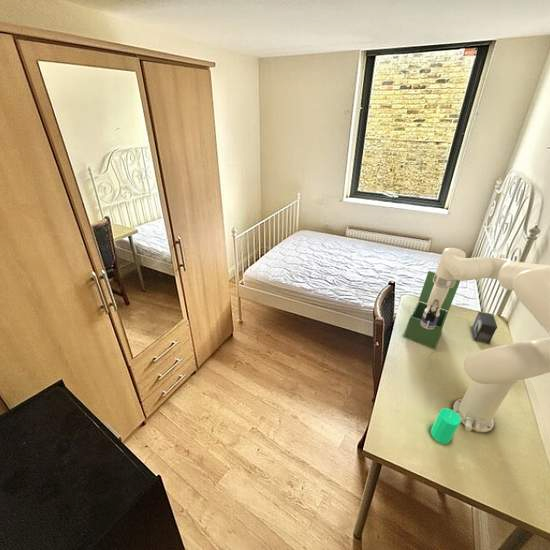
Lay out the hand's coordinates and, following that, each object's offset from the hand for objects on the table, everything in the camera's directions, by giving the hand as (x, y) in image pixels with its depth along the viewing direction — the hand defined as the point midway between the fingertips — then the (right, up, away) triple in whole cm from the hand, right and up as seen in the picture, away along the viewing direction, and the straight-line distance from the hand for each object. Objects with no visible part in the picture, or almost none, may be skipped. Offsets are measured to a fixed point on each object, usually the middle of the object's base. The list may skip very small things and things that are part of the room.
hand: (430, 316), depth 120 cm
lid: (+13, +9, +18) cm, 24 cm away
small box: (+36, -13, +23) cm, 45 cm away
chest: (+8, -12, +23) cm, 27 cm away
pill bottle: (0, -4, +3) cm, 5 cm away
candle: (-8, -38, -21) cm, 44 cm away
